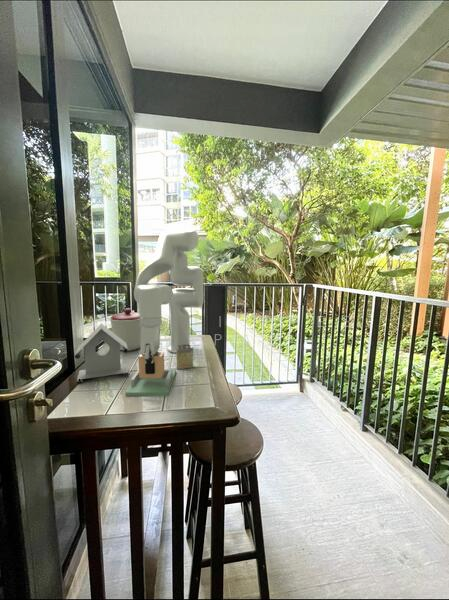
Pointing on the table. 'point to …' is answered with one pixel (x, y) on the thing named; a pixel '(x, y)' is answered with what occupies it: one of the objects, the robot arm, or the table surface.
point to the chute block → (158, 366)
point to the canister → (127, 328)
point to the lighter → (184, 357)
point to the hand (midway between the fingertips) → (152, 369)
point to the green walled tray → (151, 385)
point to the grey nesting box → (102, 363)
